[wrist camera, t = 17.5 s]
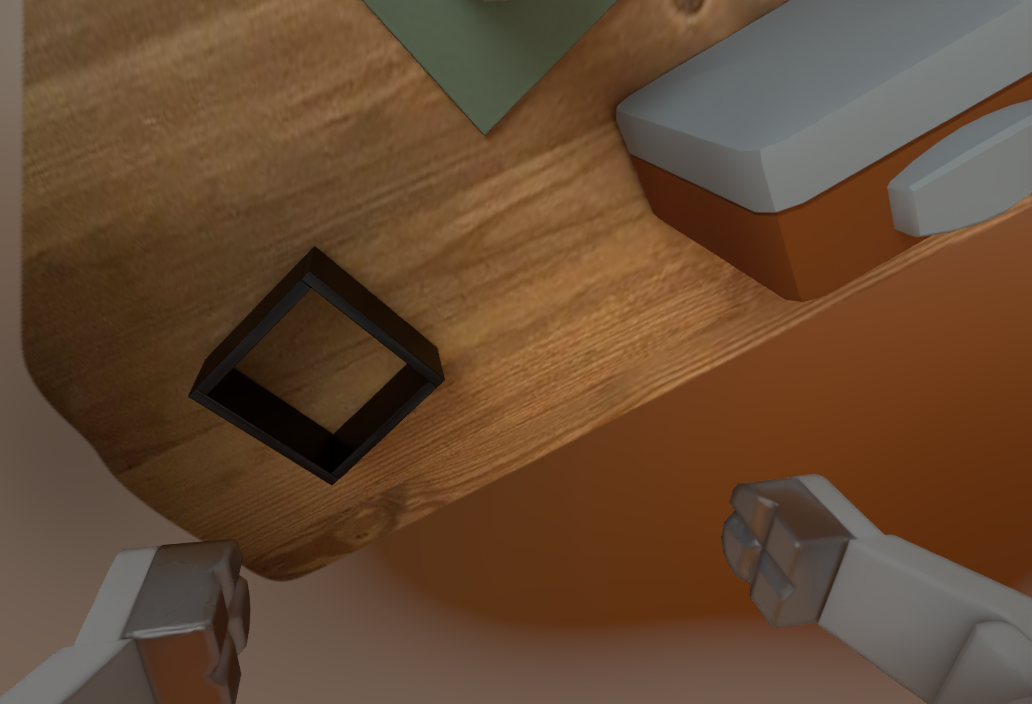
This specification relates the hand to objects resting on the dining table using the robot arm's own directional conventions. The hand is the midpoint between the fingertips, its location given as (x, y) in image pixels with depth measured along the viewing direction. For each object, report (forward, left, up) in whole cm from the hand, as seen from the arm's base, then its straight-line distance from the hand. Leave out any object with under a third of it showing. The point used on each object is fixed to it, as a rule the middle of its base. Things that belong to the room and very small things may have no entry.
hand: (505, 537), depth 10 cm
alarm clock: (+14, +20, -35) cm, 43 cm away
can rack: (+6, -14, -35) cm, 38 cm away
